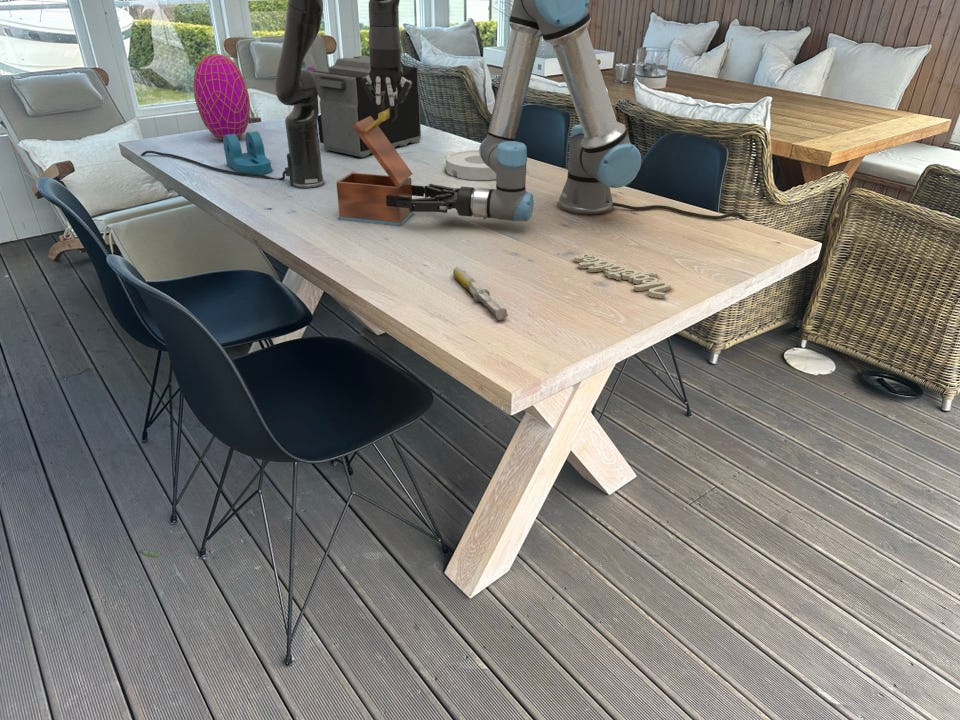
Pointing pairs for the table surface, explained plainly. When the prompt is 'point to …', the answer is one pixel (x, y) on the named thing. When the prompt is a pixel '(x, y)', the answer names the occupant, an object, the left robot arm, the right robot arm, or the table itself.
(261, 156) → the camera mount
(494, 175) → the ashtray
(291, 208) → the table surface
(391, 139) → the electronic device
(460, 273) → the syringe
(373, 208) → the chest
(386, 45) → the left robot arm
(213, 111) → the decorative egg
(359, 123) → the lid
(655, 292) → the decorative sign
